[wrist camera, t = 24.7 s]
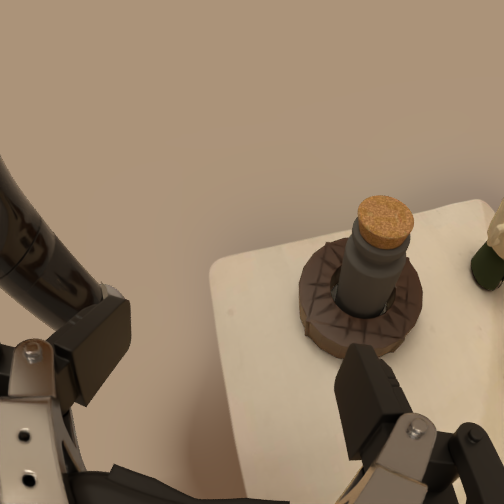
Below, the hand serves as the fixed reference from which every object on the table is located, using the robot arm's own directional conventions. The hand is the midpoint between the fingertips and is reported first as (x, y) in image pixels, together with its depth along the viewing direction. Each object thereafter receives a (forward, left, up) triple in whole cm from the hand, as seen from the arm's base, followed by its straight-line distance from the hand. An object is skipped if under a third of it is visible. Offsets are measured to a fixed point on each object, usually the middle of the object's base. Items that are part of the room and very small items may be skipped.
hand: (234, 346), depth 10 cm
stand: (+6, +14, -21) cm, 26 cm away
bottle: (+6, +14, -21) cm, 26 cm away
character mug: (+25, +23, -21) cm, 40 cm away
